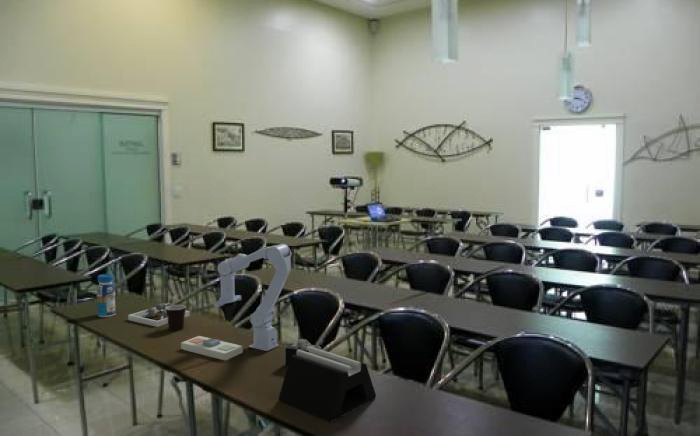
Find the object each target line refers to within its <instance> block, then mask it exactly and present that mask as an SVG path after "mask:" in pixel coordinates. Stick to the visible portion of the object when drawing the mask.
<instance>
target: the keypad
mask: <svg viewBox="0 0 700 436" xmlns="http://www.w3.org/2000/svg"><path fill="white" fill-rule="evenodd" d="M195 338H201V339H205V340H208V339H211V337H206V336H201V335H197V336H195V337H192V338H189V339H187V340H185V341H182V342H181V343H180V350H182V349H183V351H187V352H191V353H194V354H199V355H203V356H206V357H210V358H214V359H218V360H222V361H228V360H230V359H232V358H234V357H236V356H238V355H240V354H243V352H244V351H243V350H244V348H243V347H244V346H243V345H240V344H235V343H231V342H226V341H224V340H220V344H219V345H216V346H214V347H208V346H204V345H203V342H201V343H198V344H196V343H192V342H189V341H190V340H193V339H195ZM224 345H230V346H234V347H235V348H233V349H231V350H228V351H224V350H220V349H218V348H219V347H221V346H224Z"/></svg>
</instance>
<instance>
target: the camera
mask: <svg viewBox="0 0 700 436" xmlns="http://www.w3.org/2000/svg"><path fill="white" fill-rule="evenodd" d="M307 346H310V347H313V348H317V349H320V350H323V349H322V347H321V346H319V345H314V344H311V343H310V342H309V341H308V339H305V338H300V339H298V341H296V342H294V341H290V340H289V341H286V343H285V346H284V366H285V367H286V368H288V364H289V361H290V358H291V356H292V355H297V350H302V351H305V352H308V353H309V350H306V347H307Z"/></svg>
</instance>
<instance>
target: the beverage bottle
mask: <svg viewBox="0 0 700 436" xmlns="http://www.w3.org/2000/svg"><path fill="white" fill-rule="evenodd" d="M113 281H114V276H113V274H112V273H105V274H104V273H103V274H98V275H97V282H98V283H99V284H98V285H97V287H96V297H97V316H98V317H100V318H108V317H110V318H111V317H113V316H115V315H116V313H117V311H116V288H115V285H114V283H113Z"/></svg>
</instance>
